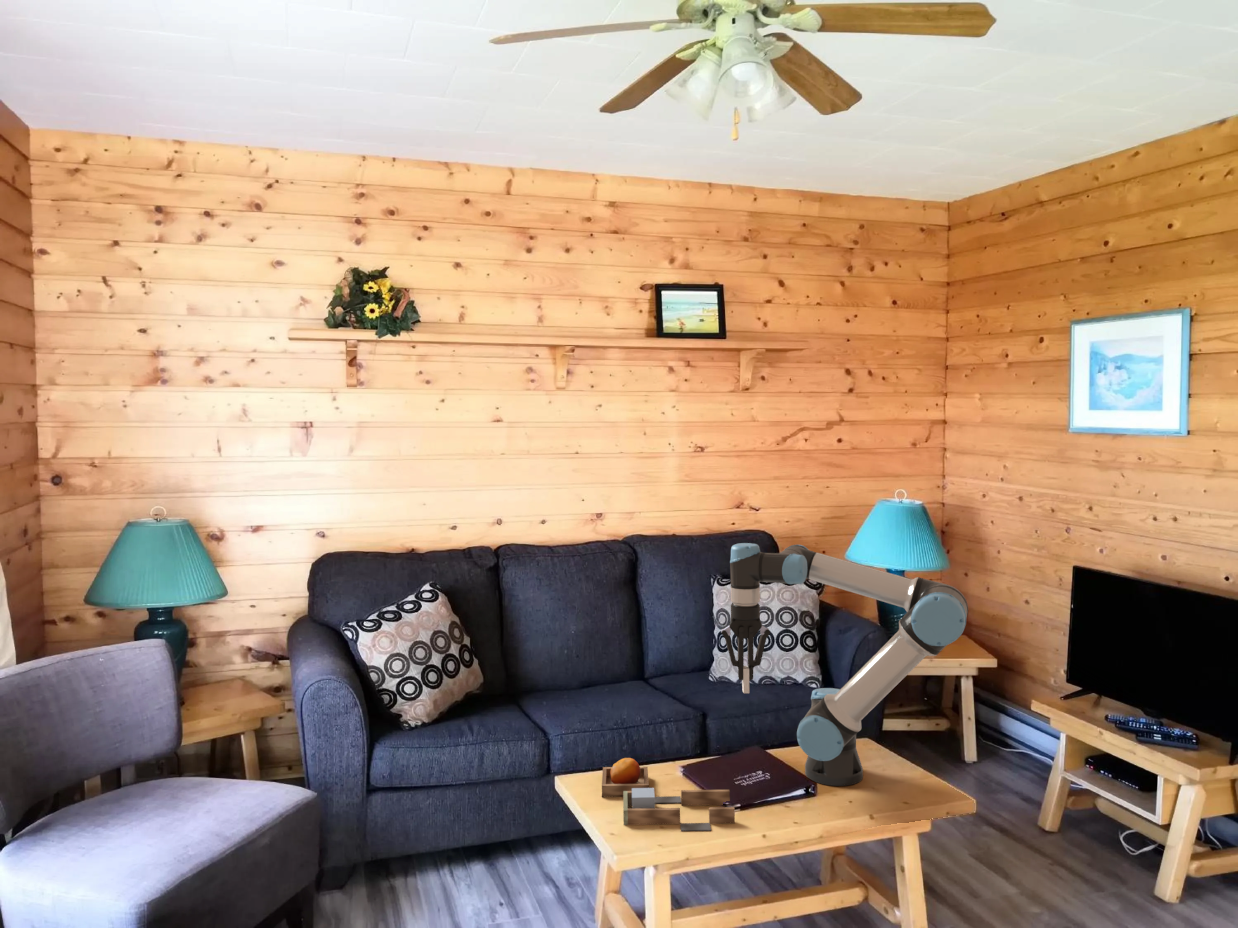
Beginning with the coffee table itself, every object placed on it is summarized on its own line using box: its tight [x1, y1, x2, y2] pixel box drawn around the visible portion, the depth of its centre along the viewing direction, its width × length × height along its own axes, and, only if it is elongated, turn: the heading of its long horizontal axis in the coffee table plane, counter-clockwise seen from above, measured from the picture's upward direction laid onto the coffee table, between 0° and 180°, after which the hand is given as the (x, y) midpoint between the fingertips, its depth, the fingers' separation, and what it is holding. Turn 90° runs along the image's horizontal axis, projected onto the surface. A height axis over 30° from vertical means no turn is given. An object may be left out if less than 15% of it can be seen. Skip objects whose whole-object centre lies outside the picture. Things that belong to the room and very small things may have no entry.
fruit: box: [610, 757, 641, 784], centre depth 238 cm, size 8×8×8 cm
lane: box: [622, 789, 736, 832], centre depth 222 cm, size 26×18×4 cm
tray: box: [601, 766, 650, 798], centre depth 238 cm, size 12×12×3 cm
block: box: [631, 787, 656, 809], centre depth 222 cm, size 6×6×6 cm
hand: (745, 691), depth 239 cm, fingers closed
